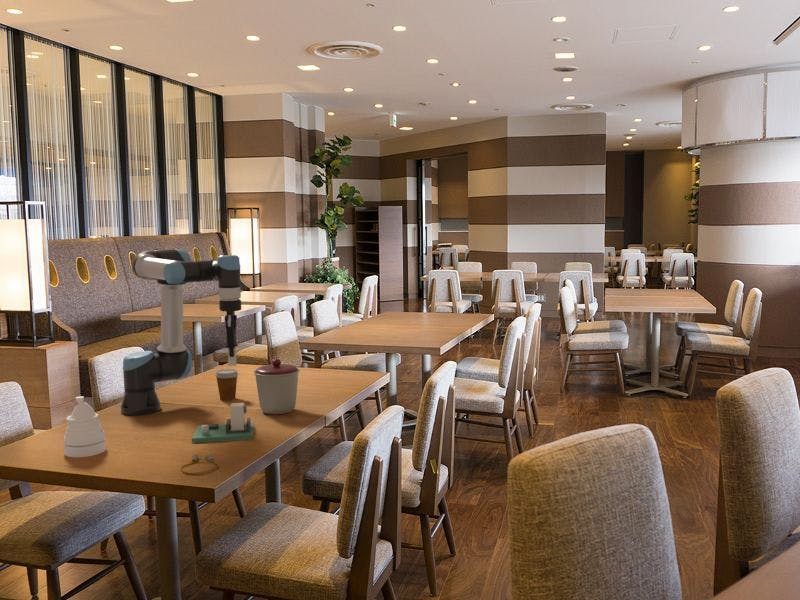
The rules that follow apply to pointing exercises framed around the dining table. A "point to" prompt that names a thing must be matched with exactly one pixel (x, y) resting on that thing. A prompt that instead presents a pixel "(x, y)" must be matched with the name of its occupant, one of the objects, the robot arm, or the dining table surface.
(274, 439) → the dining table surface
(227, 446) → the dining table surface
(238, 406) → the plug
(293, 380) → the canister
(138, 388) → the robot arm
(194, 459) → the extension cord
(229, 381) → the disposable coffee cup
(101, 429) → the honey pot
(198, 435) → the board
